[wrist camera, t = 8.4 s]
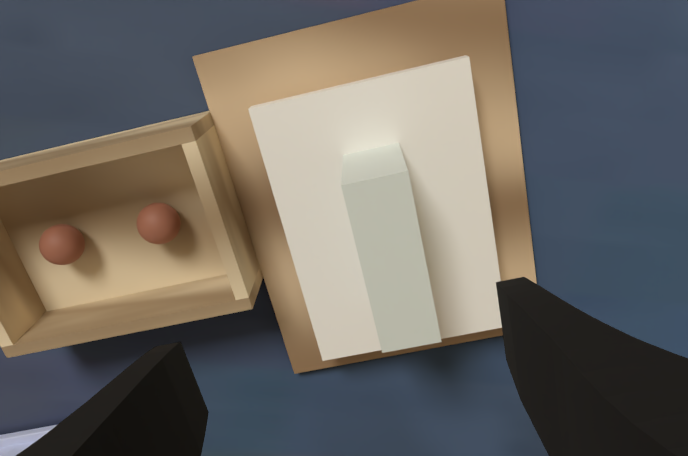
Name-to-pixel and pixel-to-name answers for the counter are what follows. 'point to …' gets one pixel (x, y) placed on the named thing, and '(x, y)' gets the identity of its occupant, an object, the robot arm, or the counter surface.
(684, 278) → the counter surface
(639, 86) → the counter surface
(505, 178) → the mat
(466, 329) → the lid
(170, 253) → the box
